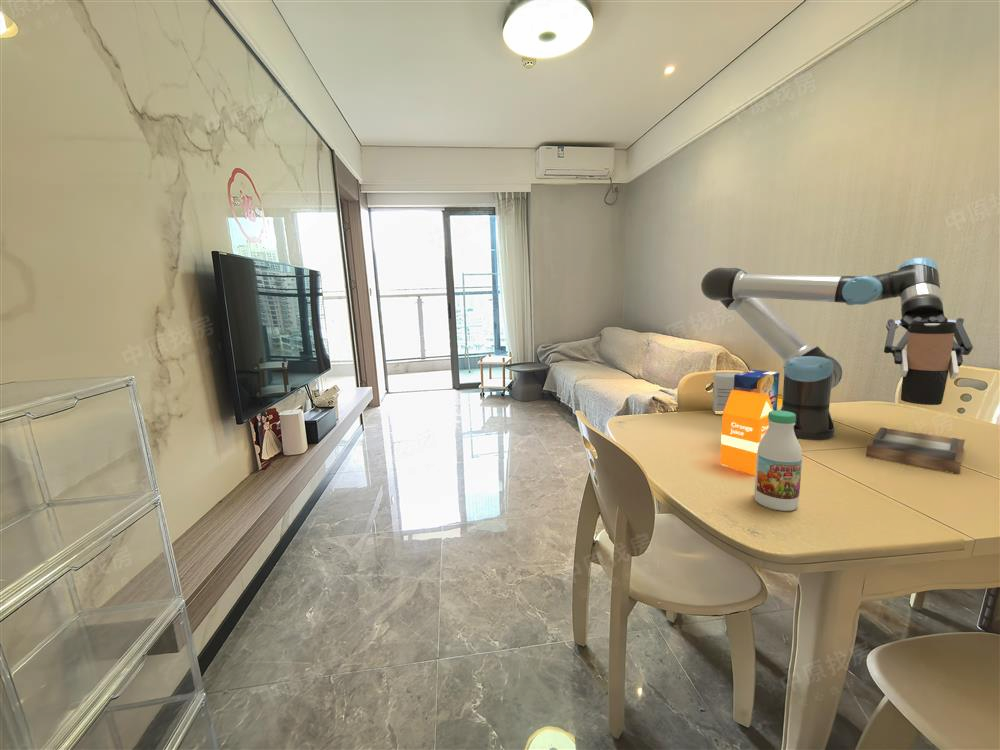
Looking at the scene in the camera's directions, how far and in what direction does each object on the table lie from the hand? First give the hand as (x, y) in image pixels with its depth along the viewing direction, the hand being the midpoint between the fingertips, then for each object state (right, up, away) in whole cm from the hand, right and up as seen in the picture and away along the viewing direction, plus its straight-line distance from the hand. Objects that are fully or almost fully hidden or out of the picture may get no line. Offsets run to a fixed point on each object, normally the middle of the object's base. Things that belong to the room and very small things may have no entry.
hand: (928, 374), depth 94 cm
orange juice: (-41, -24, +7) cm, 48 cm away
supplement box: (-18, -15, +53) cm, 58 cm away
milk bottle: (-46, -28, -11) cm, 55 cm away
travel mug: (+2, -7, +4) cm, 8 cm away
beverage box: (-31, -22, +18) cm, 42 cm away
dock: (+6, -21, +9) cm, 23 cm away
